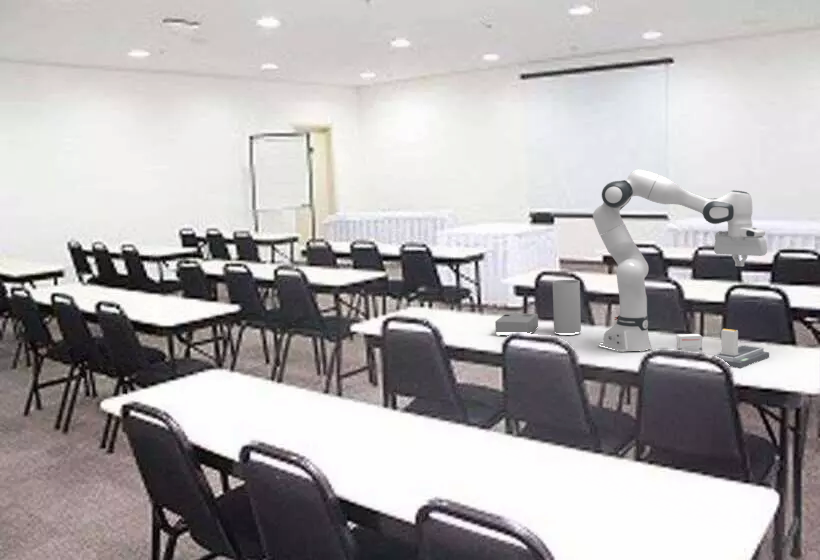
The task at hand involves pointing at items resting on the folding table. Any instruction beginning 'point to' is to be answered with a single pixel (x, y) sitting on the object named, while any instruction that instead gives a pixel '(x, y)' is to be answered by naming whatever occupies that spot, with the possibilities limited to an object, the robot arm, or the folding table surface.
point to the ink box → (689, 342)
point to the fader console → (745, 356)
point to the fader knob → (729, 343)
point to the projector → (517, 323)
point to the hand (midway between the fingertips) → (739, 266)
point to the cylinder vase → (566, 306)
